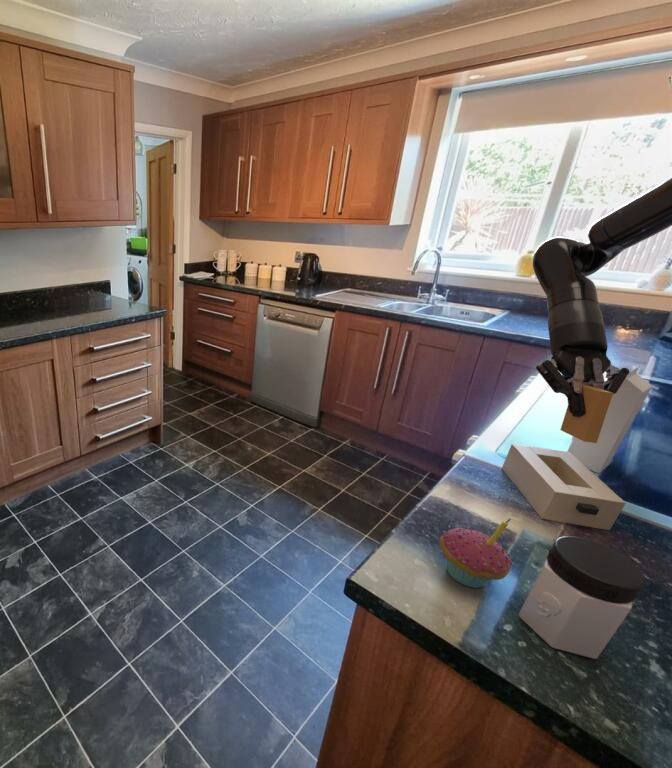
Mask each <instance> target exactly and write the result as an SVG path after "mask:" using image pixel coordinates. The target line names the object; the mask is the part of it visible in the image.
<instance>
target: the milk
mask: <svg viewBox="0 0 672 768" xmlns="http://www.w3.org/2000/svg"><path fill="white" fill-rule="evenodd" d="M639 368H640V366H639V365H638V366H636V367H634V368H633V369H630V370H629V374H628V375H627V377H626V378H625V380H624V382H623V383H622V385H621V386H620V388H619V389H618V391H617V393H615V394H613V395H612V398H611V401H610V404H609V407H608V410H607V413H606V416H605V419H604V422H603V425H602V428H601V431H600V434H599V437H598V440H597V443H591V442H584V441H582V440H580V439H578V438H576V437H574V439H572V441H571V443H570V445H569V447H568V449H567V451H566V452H570V453H571V454H572V455H573V456H575V457H576V458H577V459H578V460H579V461H580V462H581V463H582V464H583V465H584V466H586V467H587V468H588V469H589V470H590V471H591V472H595V473H597V474H601V472H602V471H604V470H605V469H606V468H607V467H608V466H609V465H610V464H611V462H612V461H613V458H614V457H615V455H616V453H617V451H618V450H619V447H620V446H621V444H622V442H623V440H624V439H625V437H626V436H627V433H628V431H629V430H630V428H631V426H632V424H633V423H634V421H635V419H636V418H637V416H638V413H639V412H640V411H641V410H640V408H641V406H642V404H643V402H644V401H645V399H646V400H647V397H648V395H649V393H650V392H651V390H652V388H653V385H652V384H651V383H650V382H648V381H647V380H645V378H643V377H642V376H641V375H639V374H638V370H639ZM606 380H607V378H604V383H603V385H604V384H605V382H606ZM639 410H640V411H639ZM638 411H639V412H638Z"/></svg>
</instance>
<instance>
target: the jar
mask: <svg viewBox="0 0 672 768" xmlns="http://www.w3.org/2000/svg"><path fill="white" fill-rule="evenodd" d="M645 586H646V577H645V575H644V573H643V572H642V570H641V569H640V568H639V567H638V566H637V565H636V564H635V563H634V562H633V561H631V559H629V558H627V557H626V556H624V555H623V554H621V553H620V552H618V551H616V550H615V549H613V548H611V547H609V546H607V545H604V544H602V543H600V542H597V541H594V540H591V539H588V538H584V537H580V536H574V535H572V536H571V535H565V536H559V537H558V538H556V539H555V540H554V542H553V543H552V545H551V548H550V549H549V550H548V553H547V555H546V557H545V559H544V561H543V563H542V564H541V567H540V568H539V570H538V572H537V574H536V576H535V578H534V580H533V581H532V583H531V586H530V588H529V589H528V591H527V593H526V595H525V597H524V599H523V602H522V604H521V607H520V609H519V612H518V614H517V615H518V618H520V620H522V621H523V622H524V623H525V624H526V625H527V626H528V627H529V628H530V629H532V631H533V632H534V633H536V634H537V636H538V637H540V638H541V639H542V640H543V641H544V642H545V643H546V644H547V645H548V646H550V648H552V649H556V650H559V651H563V652H567V653H571V654H574V655H577V656H581V657H585V658H589V659H592V660H598V658H599V656H600V655H601V654H602V652H603V651H604V649H605V648H606V647H607V645H608V644H609V642H610V641H611V640H612V638H613V636H614V635H615V633H616V632H617V631H618V629H619V627H620V626H621V625H622V624H623V622H624V620H625V619H626V618H627V616H628V615H629V613H630V612H631V610H632V609H633V602H634V601H635V600H636V598H637V597H638V595H639V594H640V593H641V591H642V590H643V588H644V587H645Z"/></svg>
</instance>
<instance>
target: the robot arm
mask: <svg viewBox="0 0 672 768" xmlns="http://www.w3.org/2000/svg"><path fill="white" fill-rule="evenodd" d="M670 227H672V177H670V178H669V179H667V180H665V181H664V182H662V183H660V184H659V185H656V186H655V187H653V188H652V189H650V190H648V191H646V192H645V193H643V194H641V195H639V196H637V197H636V198H634V199H632V200H631V201H629V202H627V203H625V204H623V205H622V206H620V207H618V208H616V209H614V210H613V211H611V212H609V213H608V214H606V215H604V216H602V217H600V218H599V219H597V220H596V221H595V222H593V223H592V224H591V225H590V226H589V228H588V231H587V238H588V240H589V241H588V242H586V243H585V242H583V241H578V240H575V239H572V238H568V237H563V236H556V237H551V238H549V239H547V240H545V241H543V242H542V243H541V244H540V245H539V246H538V247H537V249H536V250H535V252H534V254H533V257H532V269H533V272H534V274H535V276H536V279H537V281H538V283H539V286H540V288H541V289H542V290H543V292H544V294H545V295H546V305H547V306H546V307H547V312H548V315H547V316H548V317H547V330H548V336H549V337H548V338H549V347H550V354H551V355H552V356H551V358H550V360H549V359H546V360H544V361H542V362H541V363H539V364H537V365H536V366H535V369H536V371H537V372H538V374H539V375H540V376H541V377H542V378H543V379H544V381H545V382H546V384H547V385H548V386H549V387H550V389H551V390H552V391H553V392H554V393H555V394H563V395H564V396H565V397H566V398H567V407H569V411H570V413H572V415H573V417H580V416H583V415H585V413H586V410H585V402H584V395H583V394H581V393H582V384H583V385H588V386H592V387H595V388H599V389H602V390H605V391H609V392H612V393H613V394H615V393H617V391H618V389H619V388H620V386H621V385H622V383H623V382H624V380H625V378H626V377H627V375H628V374H629V372H630V370H629V369H628V368H627V367H623V368H622V367H621V368H619V367H617V366H615V365H613V364H612V361H611V360H610V359H609V357H608V356H607V353H608V342H607V341H608V340H607V334H606V333H607V332H606V327H605V321H604V316H603V313H602V310H601V308H600V304H599V303H600V302H599V298H598V297H599V296H598V291H597V287H596V284H595V282H594V281H593V280H592V279H590V278H589V276H591V275H593V274H595V273H596V272H598V271H600V269H602V268H603V267H604V266H606V265H607V264H608V263H609V262H611V261H612V260H614V259H615V258H616V257H618V255H619V254H621V253H622V252H623V251H624V250H627V249H628V248H631V247H633V246H635V245H637V244H639V243H642V242H643V241H645V240H647V239H650V238H652V237H654V236H655V235H658V234H659V233H661V232H663V231H665V230H667V229H669V228H670ZM605 372H606V375H605V377H604V374H605ZM605 379H607V380H606V382H605V384H604V385H603V383H604V380H605Z"/></svg>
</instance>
